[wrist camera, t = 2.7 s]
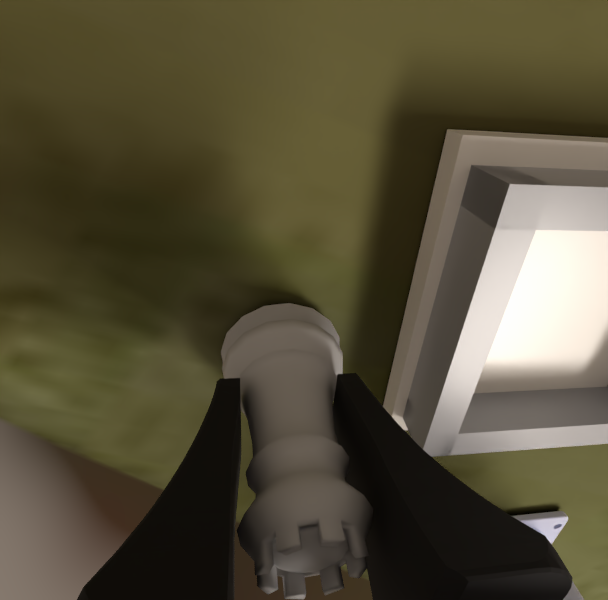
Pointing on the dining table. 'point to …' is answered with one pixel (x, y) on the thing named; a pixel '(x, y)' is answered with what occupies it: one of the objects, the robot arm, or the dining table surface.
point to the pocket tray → (508, 299)
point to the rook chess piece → (295, 451)
